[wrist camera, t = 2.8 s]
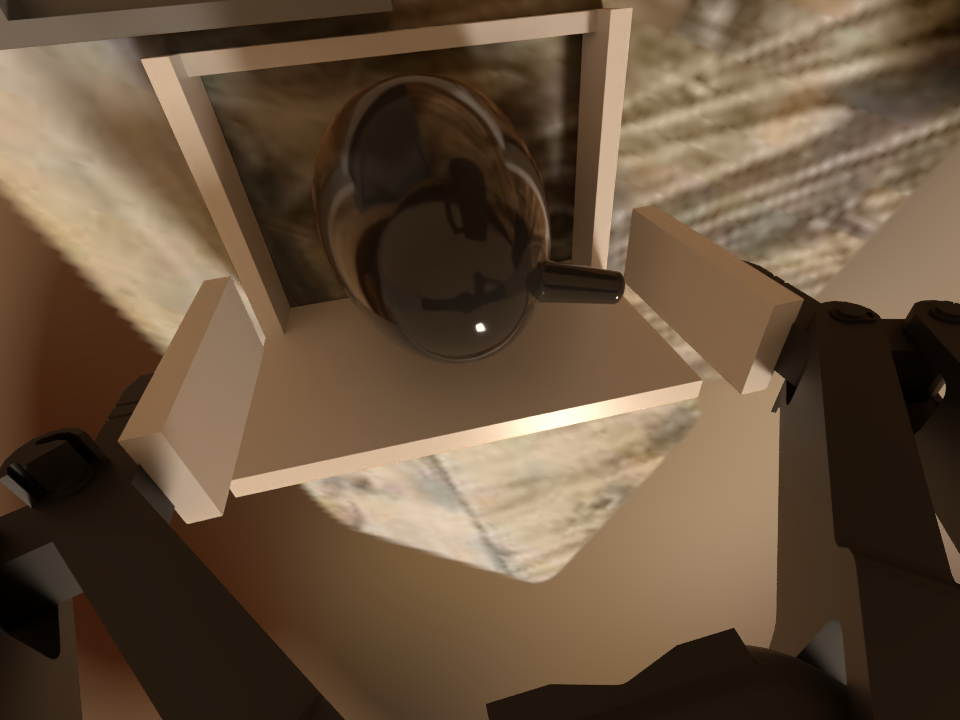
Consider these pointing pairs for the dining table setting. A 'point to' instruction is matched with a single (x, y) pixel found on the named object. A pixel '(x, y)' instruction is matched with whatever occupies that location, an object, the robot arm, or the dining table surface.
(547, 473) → the dining table surface
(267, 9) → the tray
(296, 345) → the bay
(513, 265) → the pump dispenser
